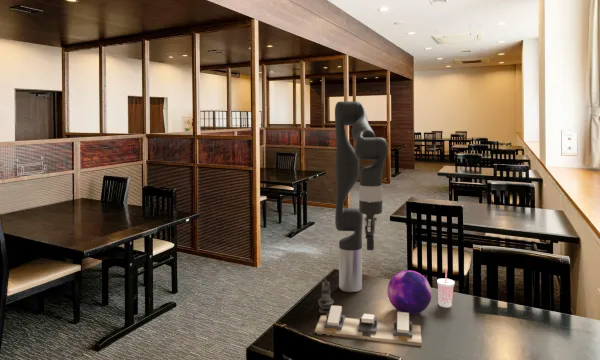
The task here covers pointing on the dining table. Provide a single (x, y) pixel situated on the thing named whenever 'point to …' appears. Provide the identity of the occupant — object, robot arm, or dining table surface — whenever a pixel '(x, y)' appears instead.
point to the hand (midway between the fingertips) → (370, 249)
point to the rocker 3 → (403, 322)
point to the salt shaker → (325, 298)
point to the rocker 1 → (334, 315)
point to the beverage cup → (445, 291)
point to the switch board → (370, 330)
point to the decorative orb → (409, 292)
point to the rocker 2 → (368, 318)
